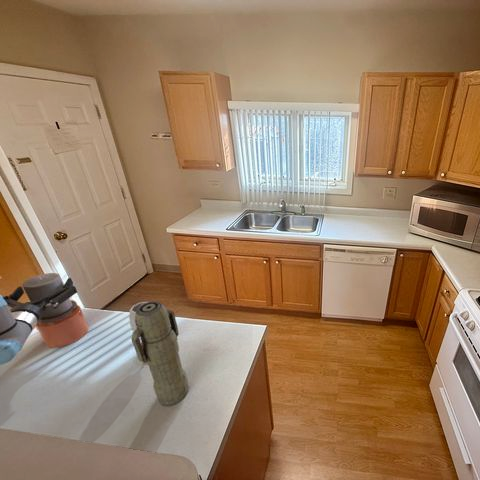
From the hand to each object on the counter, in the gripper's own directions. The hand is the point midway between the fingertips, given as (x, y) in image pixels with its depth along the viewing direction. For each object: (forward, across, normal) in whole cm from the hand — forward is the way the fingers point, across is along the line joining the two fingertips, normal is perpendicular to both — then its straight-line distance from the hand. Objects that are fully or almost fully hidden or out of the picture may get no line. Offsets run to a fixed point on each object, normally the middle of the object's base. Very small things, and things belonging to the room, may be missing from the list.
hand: (46, 285), depth 95 cm
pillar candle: (-2, 0, -10) cm, 10 cm away
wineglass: (-26, +31, -23) cm, 47 cm away
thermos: (-49, +37, -23) cm, 66 cm away
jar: (-2, 0, -23) cm, 23 cm away
